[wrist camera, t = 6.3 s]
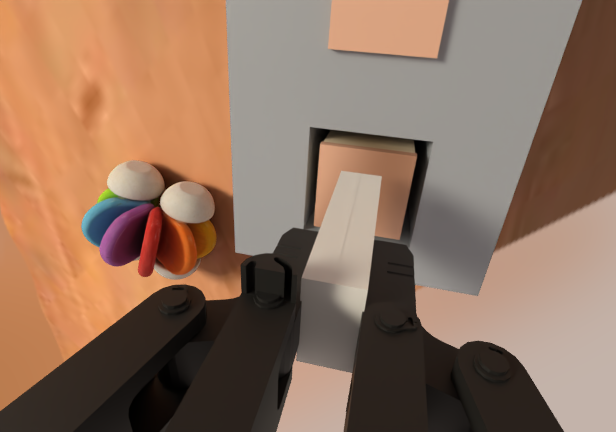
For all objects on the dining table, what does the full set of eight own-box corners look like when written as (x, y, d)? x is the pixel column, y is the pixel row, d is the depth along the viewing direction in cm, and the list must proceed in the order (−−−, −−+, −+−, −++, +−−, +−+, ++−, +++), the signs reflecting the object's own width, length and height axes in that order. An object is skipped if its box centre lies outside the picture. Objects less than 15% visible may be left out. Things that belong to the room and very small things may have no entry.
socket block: (285, 179, 28) (233, 255, 20) (295, -93, 21) (215, -171, 12) (453, 203, 27) (478, 300, 18) (532, -86, 19) (648, -174, 10)
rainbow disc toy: (213, 269, 34) (171, 327, 28) (115, 228, 35) (51, 276, 28) (235, 191, 30) (191, 238, 24) (122, 143, 30) (49, 178, 24)
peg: (340, 160, 25) (313, 226, 18) (347, 100, 24) (319, 144, 16) (400, 168, 25) (399, 239, 17) (412, 107, 23) (416, 156, 15)
